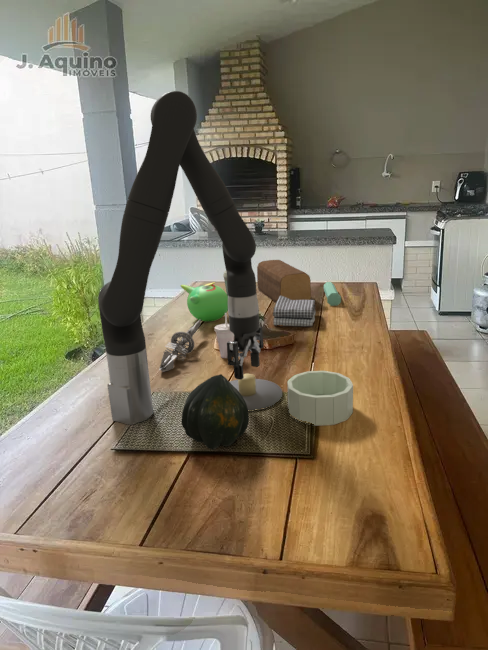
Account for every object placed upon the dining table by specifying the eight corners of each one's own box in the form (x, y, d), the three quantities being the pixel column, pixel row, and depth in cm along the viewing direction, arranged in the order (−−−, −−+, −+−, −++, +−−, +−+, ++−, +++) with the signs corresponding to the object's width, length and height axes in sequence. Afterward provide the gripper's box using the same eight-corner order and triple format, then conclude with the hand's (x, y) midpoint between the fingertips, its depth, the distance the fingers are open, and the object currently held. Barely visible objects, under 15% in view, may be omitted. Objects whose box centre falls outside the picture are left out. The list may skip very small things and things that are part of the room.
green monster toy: (236, 322, 194) (234, 284, 189) (193, 330, 188) (190, 291, 183) (220, 311, 210) (218, 276, 205) (180, 317, 204) (177, 281, 199)
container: (324, 278, 232) (330, 290, 208) (337, 282, 232) (343, 295, 208) (319, 289, 233) (324, 303, 210) (332, 294, 234) (338, 308, 210)
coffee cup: (221, 299, 227) (220, 273, 223) (227, 295, 235) (226, 269, 231) (240, 300, 225) (238, 273, 221) (245, 295, 232) (244, 269, 229)
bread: (284, 286, 245) (284, 257, 241) (312, 304, 214) (311, 270, 210) (256, 289, 242) (255, 260, 238) (280, 308, 211) (279, 274, 206)
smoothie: (234, 360, 157) (231, 316, 153) (214, 359, 159) (211, 316, 154) (238, 352, 163) (236, 310, 159) (219, 352, 165) (216, 310, 160)
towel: (272, 328, 186) (271, 307, 184) (277, 313, 204) (276, 294, 201) (314, 328, 184) (314, 307, 181) (316, 313, 201) (315, 294, 199)
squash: (175, 441, 102) (219, 380, 102) (165, 411, 116) (204, 358, 116) (229, 472, 108) (272, 414, 107) (213, 440, 122) (251, 389, 121)
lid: (262, 418, 122) (261, 397, 120) (199, 404, 130) (197, 384, 129) (293, 389, 136) (293, 369, 135) (235, 378, 145) (234, 359, 144)
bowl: (338, 430, 114) (339, 402, 112) (278, 417, 121) (277, 390, 119) (360, 402, 126) (360, 376, 124) (303, 392, 133) (303, 367, 131)
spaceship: (214, 315, 177) (192, 306, 177) (177, 363, 146) (152, 352, 146) (207, 334, 180) (187, 325, 181) (170, 385, 149) (146, 374, 150)
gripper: (242, 321, 119) (246, 385, 124) (270, 305, 131) (273, 364, 136) (215, 318, 123) (220, 380, 128) (244, 302, 134) (248, 360, 139)
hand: (247, 372), depth 132 cm, fingers open, 8 cm apart
